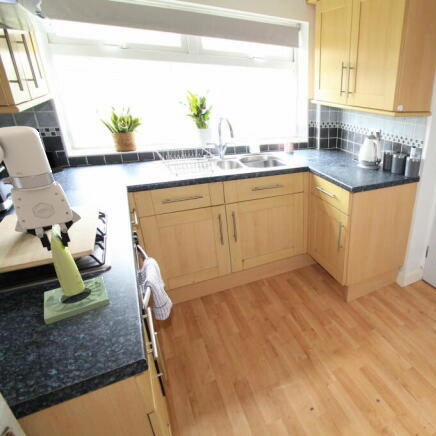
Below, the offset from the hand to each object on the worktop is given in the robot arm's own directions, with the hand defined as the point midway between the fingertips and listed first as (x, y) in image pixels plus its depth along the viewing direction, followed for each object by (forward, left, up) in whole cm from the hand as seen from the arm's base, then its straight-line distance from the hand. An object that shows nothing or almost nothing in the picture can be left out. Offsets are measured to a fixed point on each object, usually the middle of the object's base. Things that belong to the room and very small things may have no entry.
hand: (58, 246), depth 84 cm
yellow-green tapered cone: (0, 0, -15) cm, 15 cm away
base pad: (0, 0, -19) cm, 19 cm away
